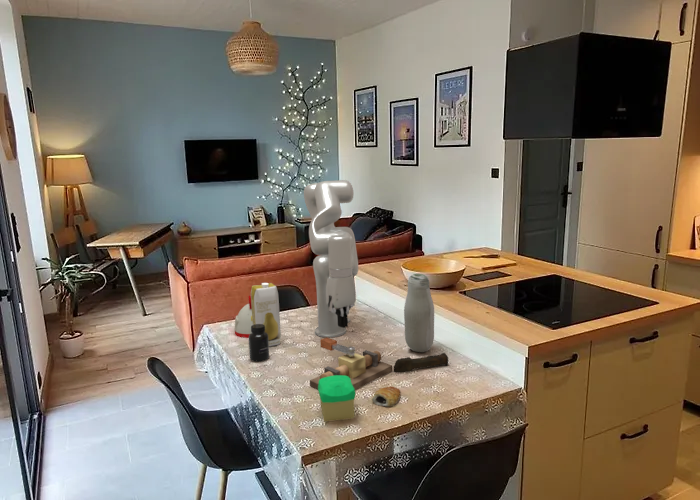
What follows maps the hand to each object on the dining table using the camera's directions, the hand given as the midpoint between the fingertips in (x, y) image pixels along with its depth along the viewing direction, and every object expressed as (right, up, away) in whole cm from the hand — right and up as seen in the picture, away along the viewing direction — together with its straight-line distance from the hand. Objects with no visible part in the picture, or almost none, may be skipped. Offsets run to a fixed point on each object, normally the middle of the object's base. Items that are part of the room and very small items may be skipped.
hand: (342, 326), depth 170 cm
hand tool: (+26, -14, -3) cm, 29 cm away
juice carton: (-29, -10, +23) cm, 38 cm away
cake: (-1, -20, -29) cm, 35 cm away
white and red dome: (-37, -8, +37) cm, 53 cm away
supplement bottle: (-29, -13, +10) cm, 33 cm away
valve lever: (-1, -7, -6) cm, 9 cm away
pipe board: (+3, -15, -9) cm, 18 cm away
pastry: (+13, -18, -23) cm, 32 cm away
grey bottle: (+27, -11, +12) cm, 32 cm away
